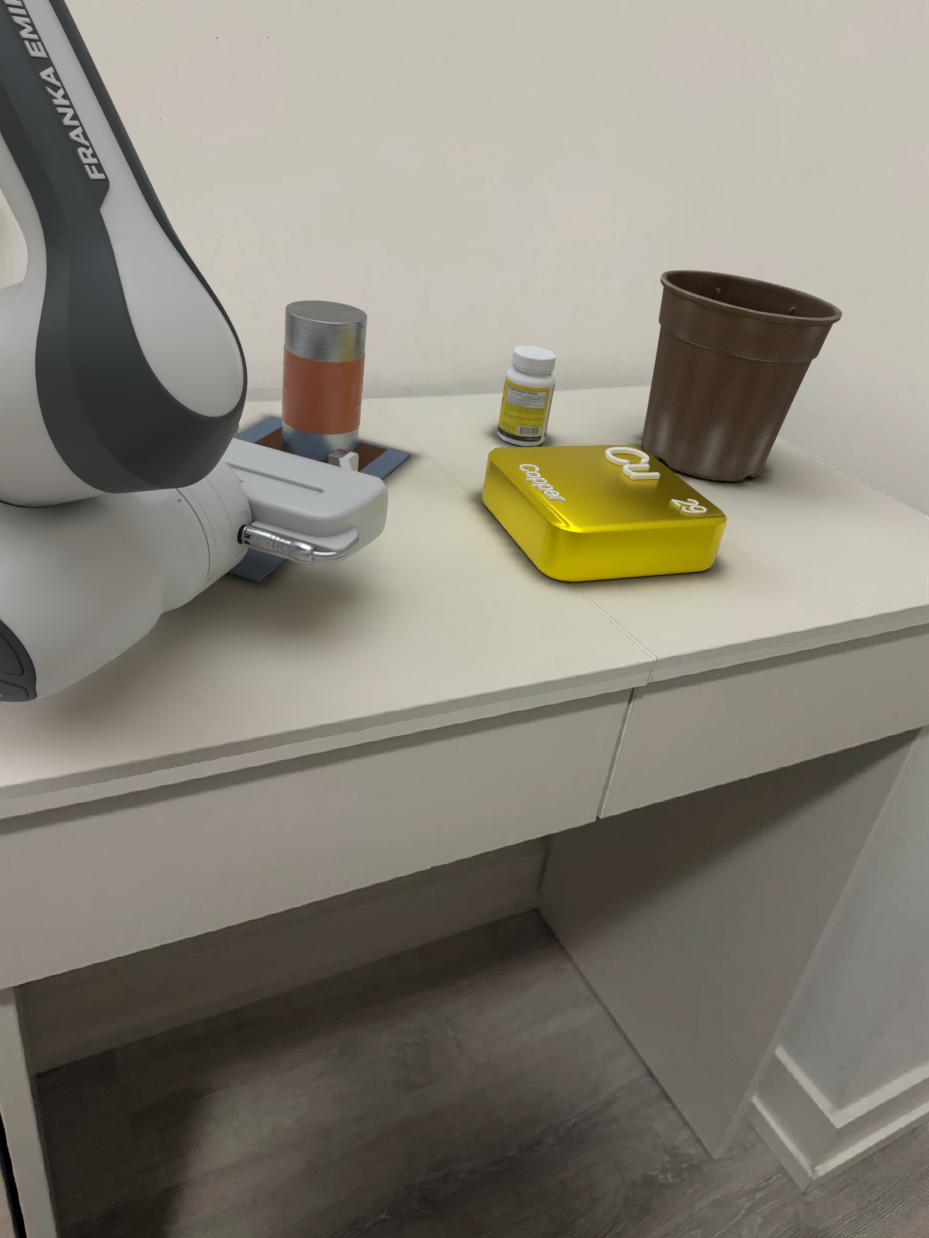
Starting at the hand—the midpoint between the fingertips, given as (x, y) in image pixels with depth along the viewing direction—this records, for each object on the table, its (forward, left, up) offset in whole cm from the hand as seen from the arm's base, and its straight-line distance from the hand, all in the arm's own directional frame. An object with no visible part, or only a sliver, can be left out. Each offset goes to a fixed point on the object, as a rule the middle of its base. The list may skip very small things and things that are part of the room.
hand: (288, 444), depth 64 cm
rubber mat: (-4, +4, -6) cm, 8 cm away
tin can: (-3, +12, -6) cm, 14 cm away
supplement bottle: (+10, +28, -6) cm, 30 cm away
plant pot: (+27, +35, -6) cm, 45 cm away
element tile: (+21, +12, -6) cm, 25 cm away
